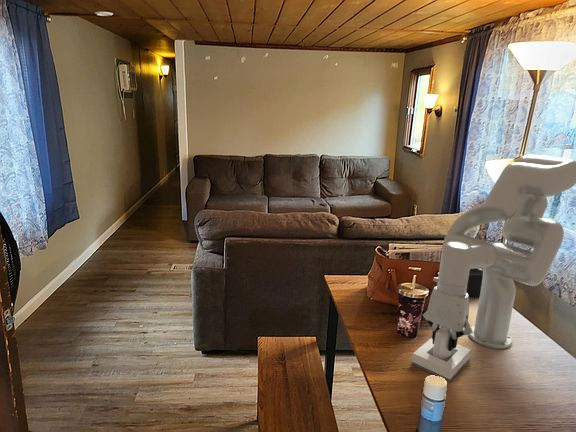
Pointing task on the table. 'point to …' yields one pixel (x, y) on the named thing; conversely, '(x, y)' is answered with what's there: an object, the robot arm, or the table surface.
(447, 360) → the bottle holder
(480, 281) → the pen holder
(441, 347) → the eye dropper bottle
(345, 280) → the table surface
